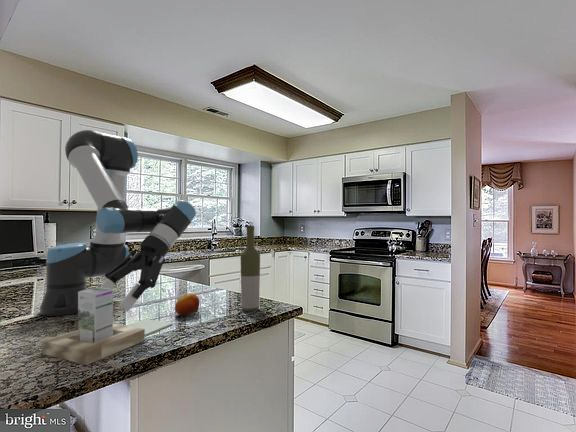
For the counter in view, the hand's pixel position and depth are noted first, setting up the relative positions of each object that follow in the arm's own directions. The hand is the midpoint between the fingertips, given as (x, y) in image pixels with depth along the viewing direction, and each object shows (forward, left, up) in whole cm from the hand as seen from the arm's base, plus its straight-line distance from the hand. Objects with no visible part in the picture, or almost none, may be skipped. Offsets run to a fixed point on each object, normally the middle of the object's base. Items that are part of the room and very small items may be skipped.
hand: (108, 305), depth 84 cm
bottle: (+17, +43, -10) cm, 47 cm away
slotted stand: (-2, -2, -10) cm, 11 cm away
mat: (-2, +13, -10) cm, 17 cm away
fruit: (0, +30, -10) cm, 32 cm away
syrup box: (-2, -2, -10) cm, 11 cm away
